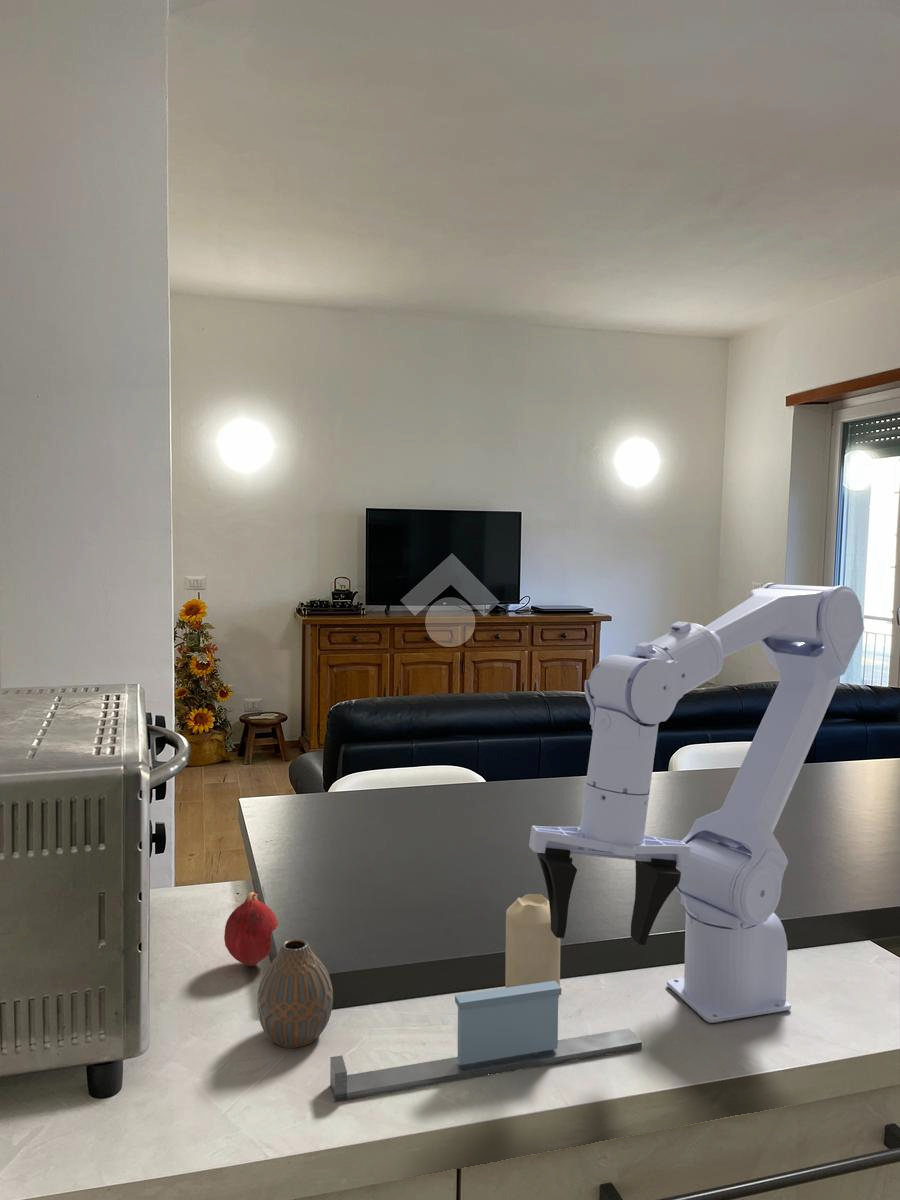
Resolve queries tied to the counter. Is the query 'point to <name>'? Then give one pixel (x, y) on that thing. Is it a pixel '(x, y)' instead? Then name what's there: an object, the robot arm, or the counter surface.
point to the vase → (295, 996)
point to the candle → (531, 943)
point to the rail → (472, 1066)
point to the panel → (507, 1021)
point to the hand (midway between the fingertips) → (597, 937)
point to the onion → (250, 931)
